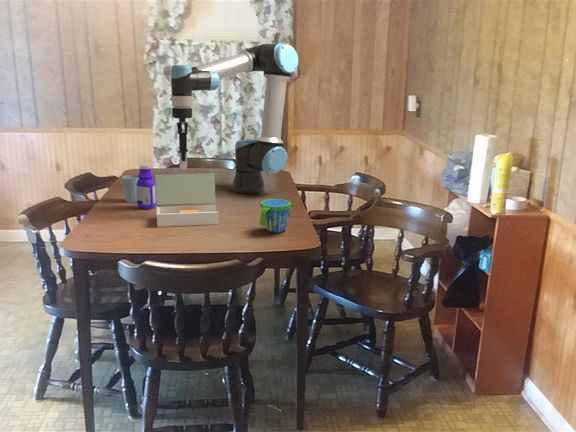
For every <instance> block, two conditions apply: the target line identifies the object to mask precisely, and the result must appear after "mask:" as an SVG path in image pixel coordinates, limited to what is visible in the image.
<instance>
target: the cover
mask: <svg viewBox="0 0 576 432" xmlns="http://www.w3.org/2000/svg"><path fill="white" fill-rule="evenodd" d="M154 176H155V177H154V182H155V196H156V207H157V206H179V205H204V204H216V201H217V200H216V181H215V180H216V177H215V176H216V175H215V173H214V172H213V173H212V172H210V173H209V172H208V173H179V174H178V173H176V174H175V173H173V174H155V175H154ZM216 205H217V204H216Z"/></svg>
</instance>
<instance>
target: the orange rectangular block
mask: <svg viewBox="0 0 576 432" xmlns="http://www.w3.org/2000/svg"><path fill="white" fill-rule="evenodd" d="M192 212H199V210H180V211H179V213H192Z"/></svg>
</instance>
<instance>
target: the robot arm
mask: <svg viewBox="0 0 576 432" xmlns="http://www.w3.org/2000/svg"><path fill="white" fill-rule="evenodd" d="M298 64H299V55H298V52H297V51H296V50H295V48H294V47H293V46H292V45H290V44H287V43H263V44H259V45H255V46H253V47H249V48H246V49H242V50H241V51H239V53H238V54H234V55H231V56H227V57H223V58H219V59H216V60H213V61H208V62H205V63H202V64H199V65H195V66H194V65H193V66H191V65H189V64H173V65H171V67H170V86H171V87H170V89H171V90H170V91H171V92H170V93H171V98H169V101H171V106H172V108H171V117H172V118H173V119H178V122H176V128H177V133H178V134H177V135H178V143H179V144H178V145H179V147H178V150H177V153H178V154H179V170H188V152H189V149H188V148H187V147H188V144H187V143H188V140H187V139H188V138H187V135H188V129H189V128H188V127H189V123H188V122H186V119H191V118H193V108H192V106H193V92H194V91H197V92H198V91H201V92H202V91H204V92H205V91H215V90H217V89H218V87H219V86H220V79H225V78H227V77H230V76H233V75H237V74H241V73H245V74H249V73H253V72H263V76H264V78H265V80H266V84H265V93H264V102H263V111H262V120H261V122H262V123H261V131H260V136H259V137H258V138H254V139H253V138H251V139H242V140H237V141H236V142H235V148H234V152H235V153H234V156H235V157H234V158H235V163H234V164H235V175H234V178H233V181H232V183H231V191H232V192H234V193H235V192H236V193H241V194H257V193H261V192H265V190H266V184H265V180H264V177H263V174H262V171H263V172H265V173H266V174H267V173H268V174H269V173H270V174H276V173H279V172H281V171H282V170H283V169H284V167H285V166H286V164H287V161H288V152H287V150H286V149H285V148H284V141H283V139H281V135H282V127H283V119H284V108H285V101H286V100H285V99H286V93H287V92H286V90H287V82H289V80H291V78H292V73H294V72H295V71H296V70H297V68H298Z"/></svg>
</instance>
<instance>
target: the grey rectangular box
mask: <svg viewBox="0 0 576 432" xmlns="http://www.w3.org/2000/svg"><path fill="white" fill-rule="evenodd" d="M216 207H217V204H204V205H179V206H157V205H156V227H157V228H164V227H165V228H166V227H182V226H184V227H186V226H204V225H205V226H207V225H219V224H220V223H219V221H220V220H219V219H220V218H219V217H220V216H219V213H220V212H219V211H218V210H217V209H216ZM180 210H199V212H192V213H179V211H180ZM216 210H217V211H216Z"/></svg>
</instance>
